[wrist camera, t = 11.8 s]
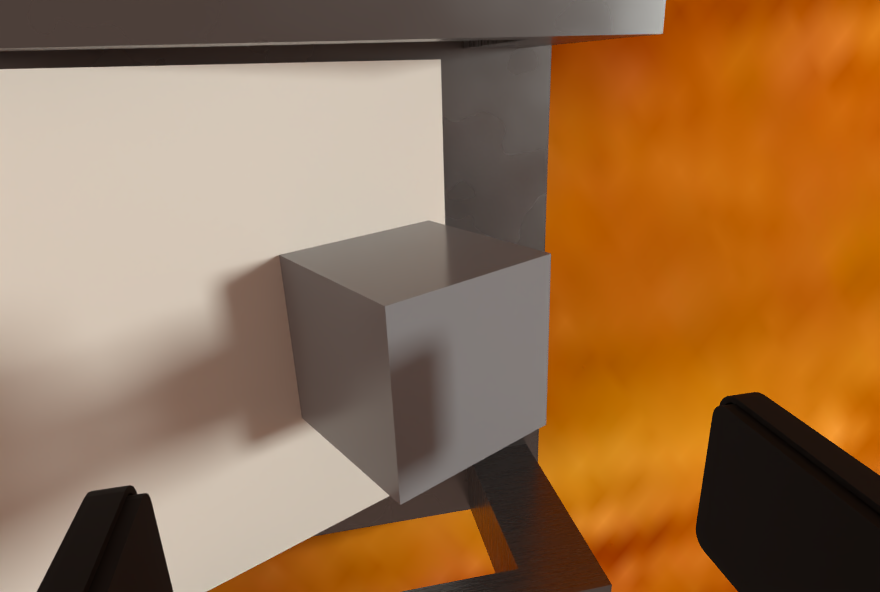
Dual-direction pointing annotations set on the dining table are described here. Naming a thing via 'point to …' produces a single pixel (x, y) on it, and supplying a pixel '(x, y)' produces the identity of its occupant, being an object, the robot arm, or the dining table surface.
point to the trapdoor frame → (465, 174)
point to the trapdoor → (186, 292)
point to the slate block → (419, 348)
